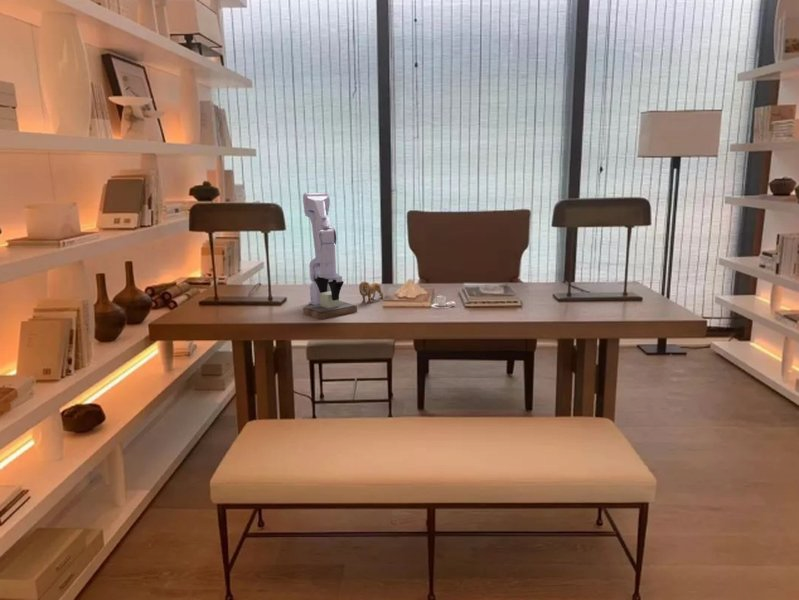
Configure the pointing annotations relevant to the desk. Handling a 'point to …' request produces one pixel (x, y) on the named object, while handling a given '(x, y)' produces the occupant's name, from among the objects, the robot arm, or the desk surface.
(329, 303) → the sage block
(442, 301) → the teacup and saucer
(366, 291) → the lion figurine
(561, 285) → the desk surface
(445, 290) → the desk surface
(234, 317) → the desk surface
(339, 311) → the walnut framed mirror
